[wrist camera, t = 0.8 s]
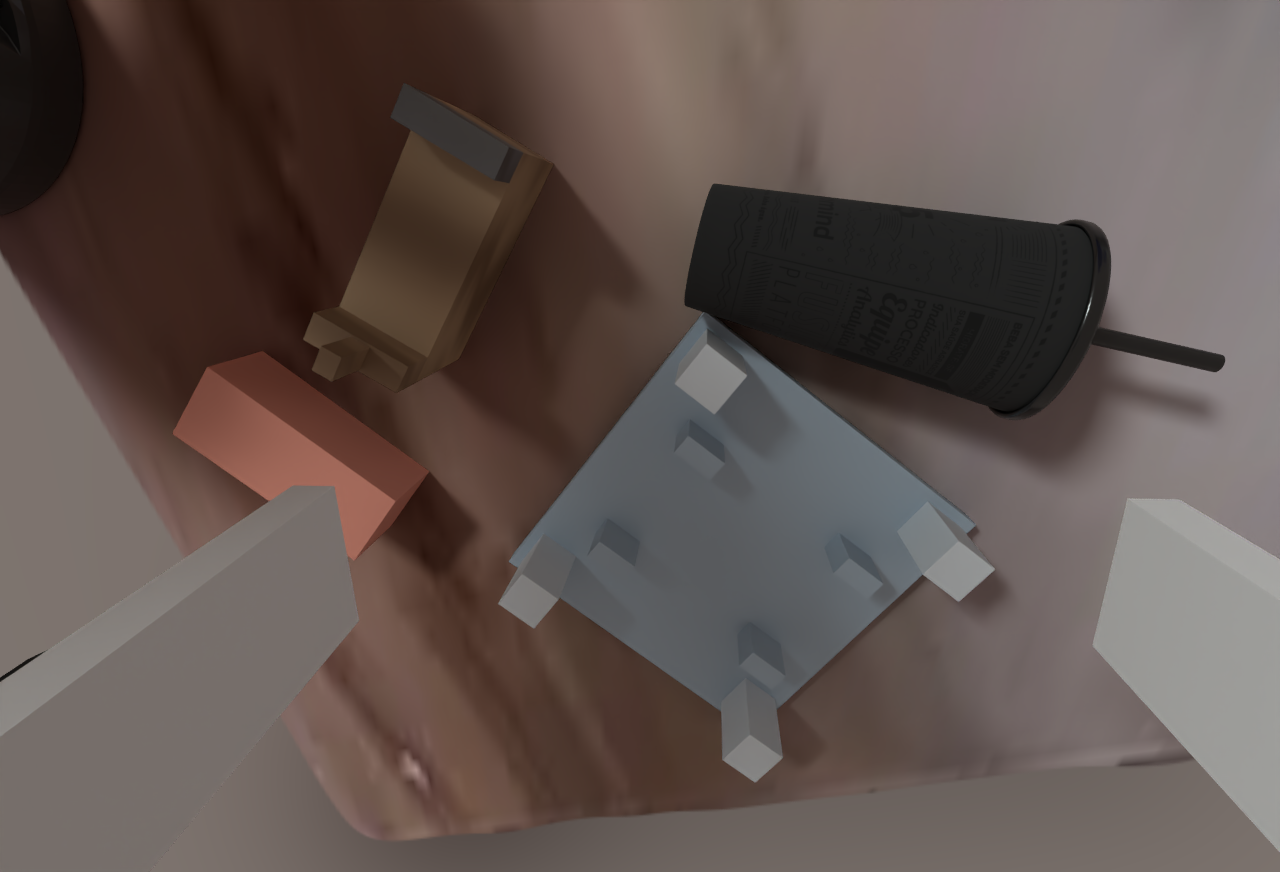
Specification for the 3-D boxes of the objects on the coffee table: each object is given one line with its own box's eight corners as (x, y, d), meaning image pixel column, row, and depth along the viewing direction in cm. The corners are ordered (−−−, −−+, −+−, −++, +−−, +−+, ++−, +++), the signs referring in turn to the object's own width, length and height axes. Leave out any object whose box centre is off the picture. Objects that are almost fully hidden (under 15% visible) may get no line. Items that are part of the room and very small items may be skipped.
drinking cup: (698, 281, 32) (1124, 379, 30) (665, 376, 26) (1182, 503, 25) (731, 115, 26) (1253, 224, 25) (699, 193, 21) (1364, 338, 19)
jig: (514, 552, 34) (483, 604, 30) (705, 308, 30) (704, 325, 25) (750, 719, 36) (756, 794, 31) (968, 515, 31) (1013, 568, 27)
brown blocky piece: (459, 358, 32) (370, 406, 23) (386, 315, 31) (269, 349, 23) (554, 164, 29) (490, 139, 20) (473, 114, 28) (374, 69, 20)
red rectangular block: (232, 410, 34) (172, 433, 30) (265, 350, 33) (207, 366, 29) (393, 523, 35) (354, 560, 31) (431, 469, 34) (395, 501, 30)
